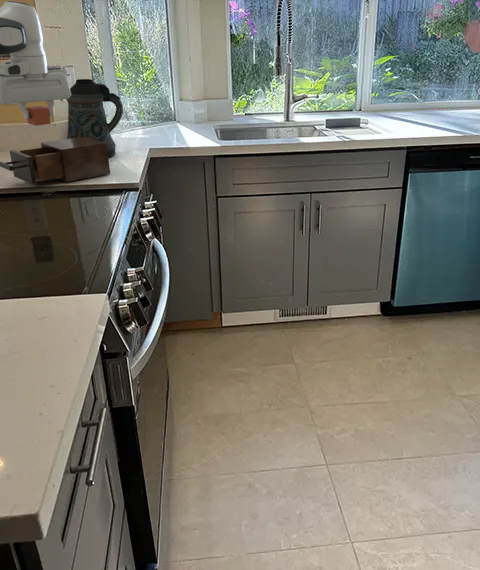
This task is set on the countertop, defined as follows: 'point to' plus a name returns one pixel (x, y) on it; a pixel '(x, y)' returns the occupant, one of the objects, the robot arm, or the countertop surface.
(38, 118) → the block
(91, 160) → the cabinet
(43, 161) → the drawer
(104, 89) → the dark grey pitcher
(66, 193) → the countertop surface
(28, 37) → the robot arm
